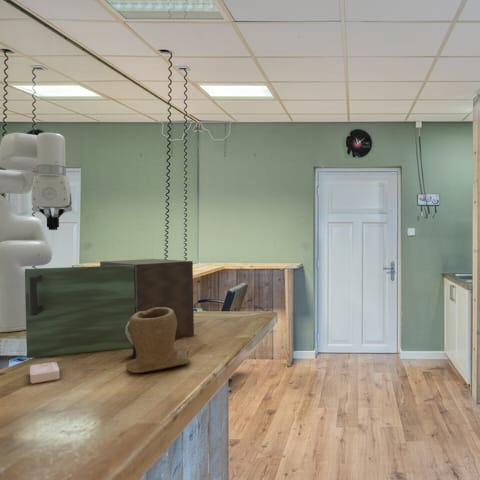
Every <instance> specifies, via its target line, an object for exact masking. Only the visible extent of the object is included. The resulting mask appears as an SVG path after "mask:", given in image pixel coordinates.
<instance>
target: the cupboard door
mask: <svg viewBox="0 0 480 480" xmlns="http://www.w3.org/2000/svg"><path fill="white" fill-rule="evenodd" d="M24 272H25V301H26V330H25V337H26V338H25V341H26V359H32V358H42V357H43V358H44V357H52V356H53V357H54V356H64V355H71V354H81V353H91V352H92V353H93V352H101V351H102V352H103V351H111V350H122V349H133V344H132V343H131V342H130V341H129V340H128V338H127V336H126V333H125V331H126V325H127V323H128V322H129V321H130V318H131V317H132V316H133V315H134V314H135V286H134V265H121V266H100V265H95V266H93V265H92V266H71V267H70V266H69V267H67V266H66V267H40V268H39V267H37V268H35V267H34V268H25V269H24ZM127 328H128V331H129V334H130V324H129V325H128V327H127Z"/></svg>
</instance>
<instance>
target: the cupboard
mask: <svg viewBox="0 0 480 480" xmlns="http://www.w3.org/2000/svg"><path fill="white" fill-rule="evenodd" d="M121 265H134V286H135V313H137V312H139V311H147V310H149V309H152V308H156V307H167V308H170V309H172V310H173V311H174V313H175V315H176V319H177V328H176V334H175V340H179V339H184V338H189V337H194V336H195V319H194V318H195V316H194V314H195V313H194V266H193V265H194V263H193V260H182V259H181V260H180V259H179V260H177V259H162V258H147V259H126V260H105V261H104V260H103V261H100V262H99V266H121Z"/></svg>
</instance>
